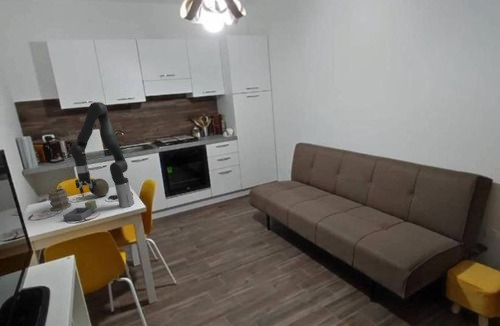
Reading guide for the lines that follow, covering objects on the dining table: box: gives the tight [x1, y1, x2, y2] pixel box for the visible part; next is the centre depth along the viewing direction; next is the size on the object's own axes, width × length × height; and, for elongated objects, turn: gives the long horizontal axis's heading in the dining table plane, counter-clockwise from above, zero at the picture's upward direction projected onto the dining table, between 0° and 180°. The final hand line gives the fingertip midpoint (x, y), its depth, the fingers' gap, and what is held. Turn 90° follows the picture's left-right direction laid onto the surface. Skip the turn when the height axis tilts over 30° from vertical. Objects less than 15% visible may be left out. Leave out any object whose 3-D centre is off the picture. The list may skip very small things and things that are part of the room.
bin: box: [62, 207, 95, 222], centre depth 207 cm, size 13×13×4 cm
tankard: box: [47, 185, 72, 212], centre depth 231 cm, size 20×13×15 cm, turn 18°
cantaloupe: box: [88, 178, 110, 197], centre depth 246 cm, size 14×14×15 cm
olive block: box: [84, 199, 98, 210], centre depth 219 cm, size 5×5×6 cm
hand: (87, 193), depth 217 cm, fingers open, 8 cm apart
